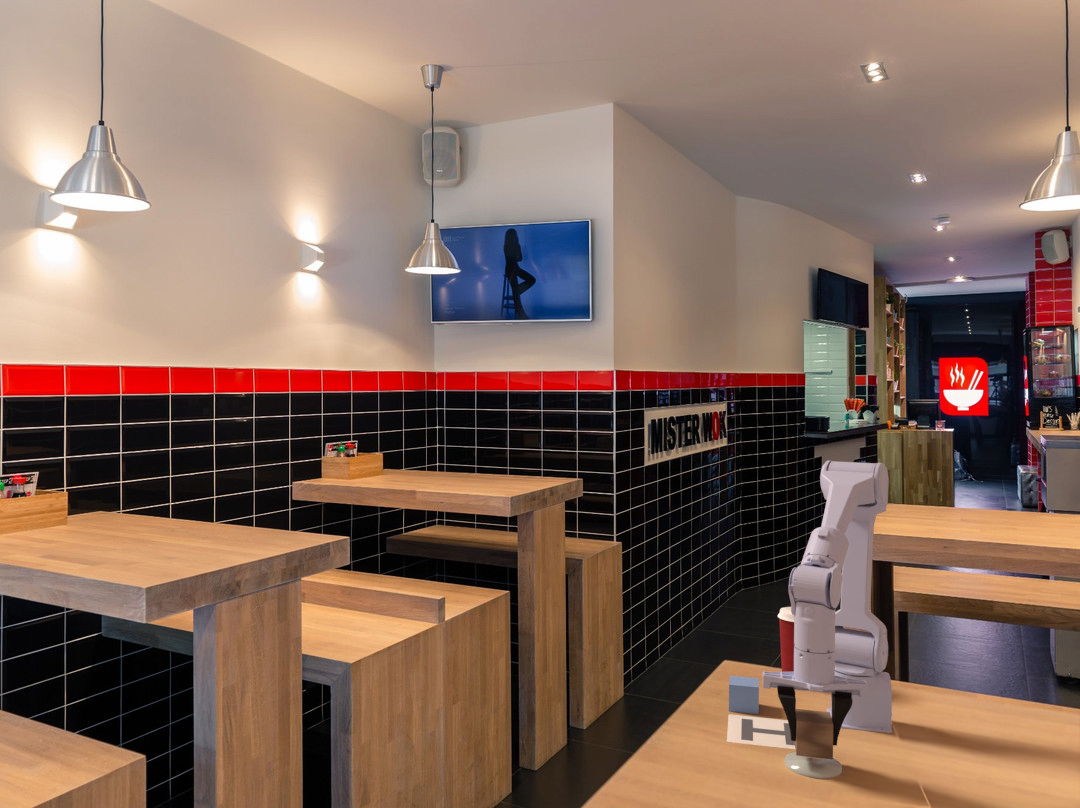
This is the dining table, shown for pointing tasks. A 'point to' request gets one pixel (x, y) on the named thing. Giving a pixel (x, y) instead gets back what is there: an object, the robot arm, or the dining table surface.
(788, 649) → the paper cup
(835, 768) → the saucer
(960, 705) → the dining table surface
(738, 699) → the blue cube
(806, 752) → the walnut block
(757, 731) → the letter card
